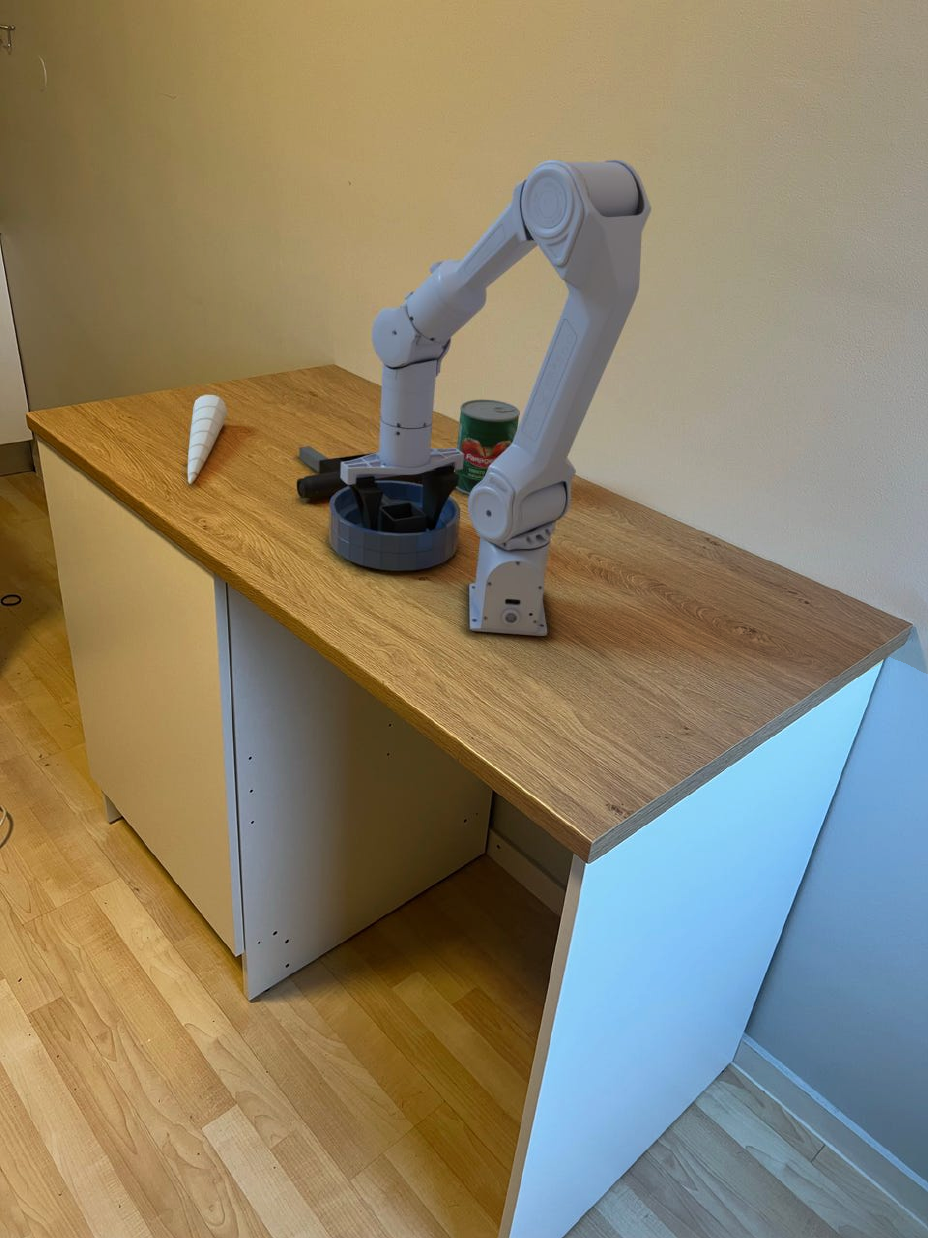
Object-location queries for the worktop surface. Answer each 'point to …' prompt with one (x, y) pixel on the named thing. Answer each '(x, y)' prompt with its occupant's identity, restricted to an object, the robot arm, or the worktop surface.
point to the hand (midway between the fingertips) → (399, 531)
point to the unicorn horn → (204, 431)
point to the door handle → (332, 474)
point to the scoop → (401, 517)
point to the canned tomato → (483, 438)
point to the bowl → (392, 547)
